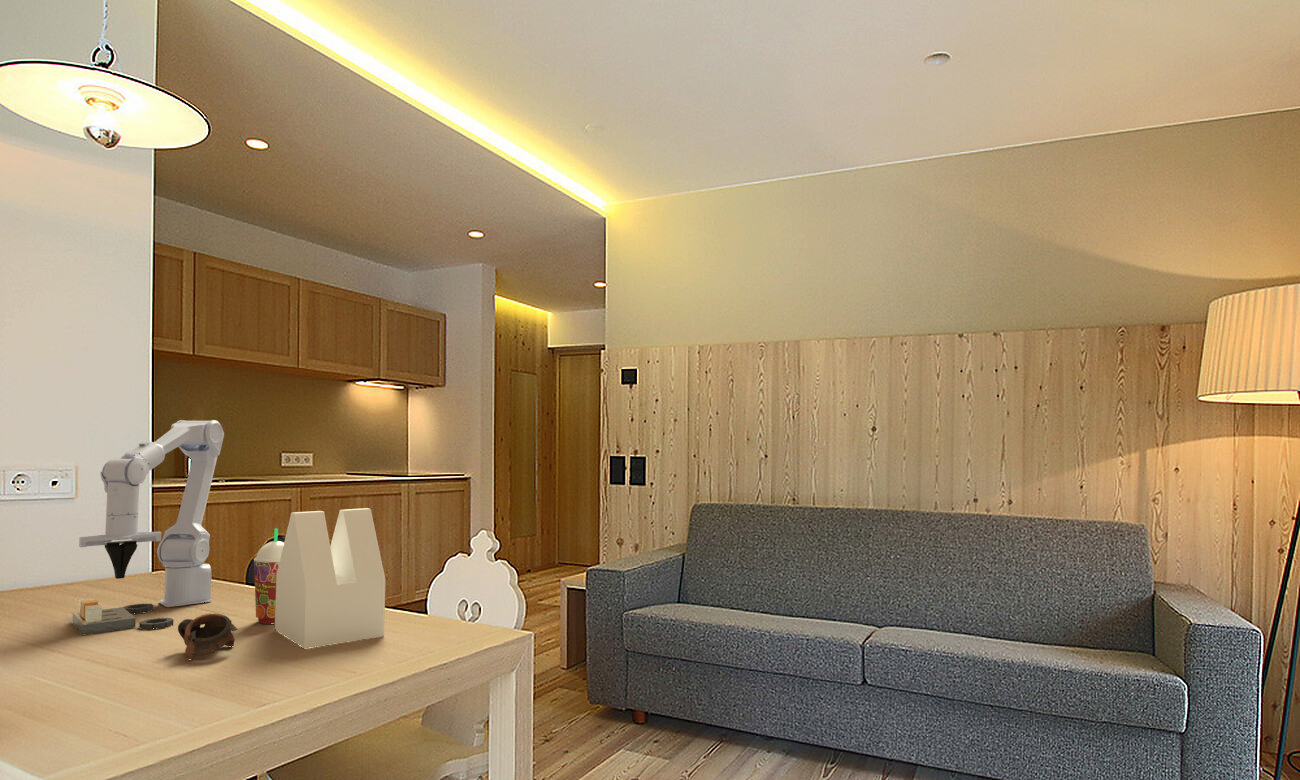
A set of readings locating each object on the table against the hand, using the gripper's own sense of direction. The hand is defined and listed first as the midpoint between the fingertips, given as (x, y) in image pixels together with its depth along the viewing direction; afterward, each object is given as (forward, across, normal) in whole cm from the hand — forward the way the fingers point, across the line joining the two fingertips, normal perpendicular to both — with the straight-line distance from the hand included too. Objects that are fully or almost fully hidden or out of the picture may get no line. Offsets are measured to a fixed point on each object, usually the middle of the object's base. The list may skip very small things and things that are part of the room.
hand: (119, 577), depth 167 cm
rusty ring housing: (+10, +8, -38) cm, 40 cm away
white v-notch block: (+10, +30, -39) cm, 50 cm away
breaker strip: (+10, -3, 0) cm, 10 cm away
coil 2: (+10, +5, -9) cm, 14 cm away
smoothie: (+10, +25, -21) cm, 34 cm away
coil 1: (+10, +5, +10) cm, 15 cm away
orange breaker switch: (+7, -5, 0) cm, 9 cm away
